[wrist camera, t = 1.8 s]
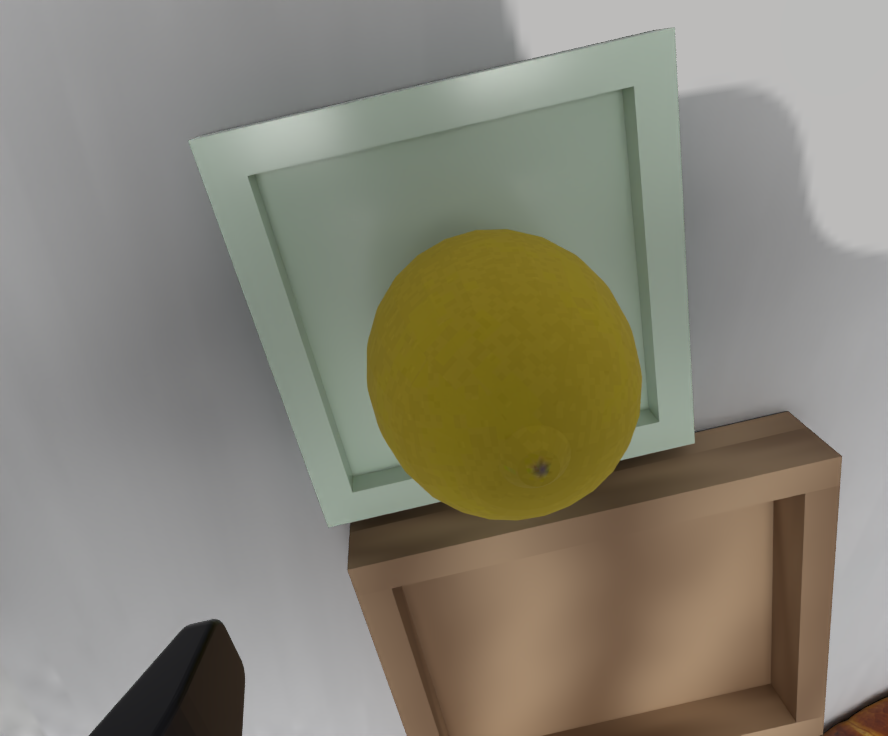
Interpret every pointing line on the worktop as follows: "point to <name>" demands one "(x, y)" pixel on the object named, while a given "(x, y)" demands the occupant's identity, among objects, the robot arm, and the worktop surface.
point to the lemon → (503, 375)
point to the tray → (619, 598)
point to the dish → (454, 230)
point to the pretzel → (864, 722)
